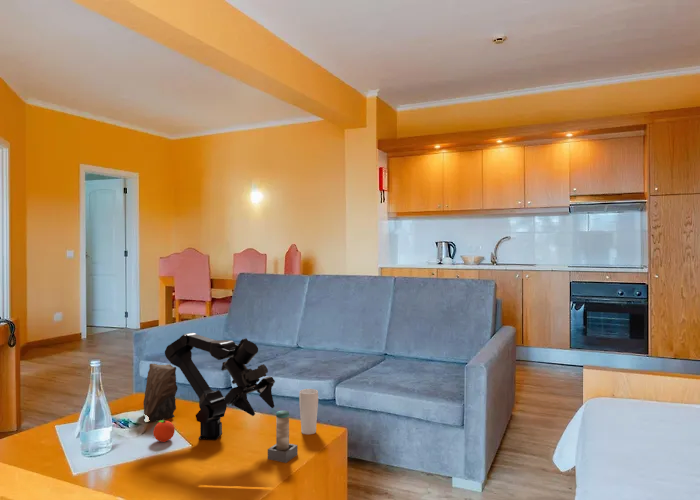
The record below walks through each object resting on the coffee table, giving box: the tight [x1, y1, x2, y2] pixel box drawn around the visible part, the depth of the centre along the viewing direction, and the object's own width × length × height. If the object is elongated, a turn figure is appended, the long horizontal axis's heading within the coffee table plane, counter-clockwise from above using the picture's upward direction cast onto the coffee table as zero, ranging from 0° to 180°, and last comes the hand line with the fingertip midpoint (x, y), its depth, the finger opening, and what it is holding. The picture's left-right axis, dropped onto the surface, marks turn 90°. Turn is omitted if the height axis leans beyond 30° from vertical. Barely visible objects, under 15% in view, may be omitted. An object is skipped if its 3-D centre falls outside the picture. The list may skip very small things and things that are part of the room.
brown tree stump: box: [143, 363, 178, 422], centre depth 200 cm, size 13×13×20 cm
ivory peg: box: [275, 410, 290, 452], centre depth 161 cm, size 4×4×14 cm
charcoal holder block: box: [267, 443, 299, 464], centre depth 161 cm, size 7×7×4 cm
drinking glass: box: [298, 388, 319, 435], centre depth 182 cm, size 7×7×15 cm
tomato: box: [153, 420, 176, 443], centre depth 175 cm, size 8×7×7 cm
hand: (264, 411), depth 165 cm, fingers open, 9 cm apart
